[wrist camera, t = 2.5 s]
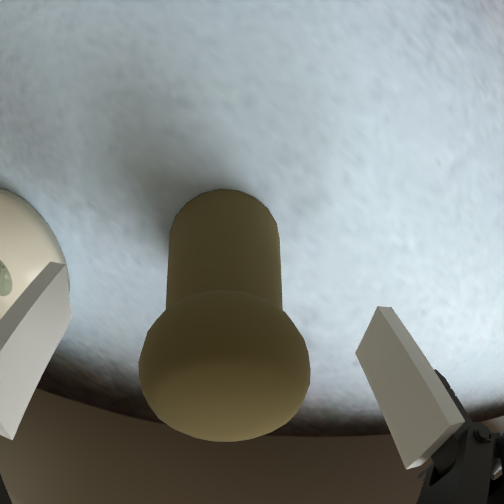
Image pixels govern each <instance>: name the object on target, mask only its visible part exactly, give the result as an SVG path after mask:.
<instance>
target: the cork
mask: <svg viewBox="0 0 504 504" xmlns="http://www.w3.org/2000/svg"><path fill="white" fill-rule="evenodd" d="M138 363H139V377H140V382H141V387H142V392H143V395H144V396H145V398H146V400H147V402H148V404H149V406H150V407H151V409H152V410H153V411H154V413H155V414H156V415H157V417H158V418H159V419H160V420H162V421H163V422H165V423H166V424H167V425H169V426H170V427H172V428H173V429H175V430H178V431H180V432H183V433H185V434H188V435H190V436H193V437H195V438H201V439H205V440H210V441H225V442H232V441H241V440H248V439H252V438H255V437H258V436H261V435H264V434H267V433H270V432H272V431H274V430H275V429H277V428H279V427H281V426H282V425H284V424H286V423H287V422H288V421H289V420H290V419H291V418H292V417H293V416H294V415H295V414H296V413H297V412H298V410H299V408H300V406H301V404H302V402H303V400H304V398H305V395H306V393H307V390H308V387H309V385H310V362H309V355H308V350H307V347H306V344H305V341H304V338H303V337H302V335H301V334H300V332H299V331H298V329H297V328H296V326H295V325H294V323H293V322H292V321H291V319H290V318H289V317H288V315H287V314H286V313H285V312H284V311H283V310H282V284H281V260H280V239H279V233H278V228H277V223H276V221H275V220H274V218H273V216H272V215H271V213H270V211H269V209H268V208H267V207H265V206H264V205H263V204H262V203H261V202H260V201H258V200H257V199H256V198H255V197H252V196H250V195H247V194H245V193H242V192H240V191H235V190H221V189H219V190H215V191H211V192H207V193H203V194H201V195H199V196H197V197H196V198H194V199H192V200H191V201H189V202H188V203H186V205H185V206H184V207H183V208H182V209H181V211H180V212H179V213H178V214H177V215H176V217H175V220H174V223H173V226H172V228H171V231H170V244H169V258H168V275H167V295H166V310H165V311H164V312H163V313H162V314H161V316H160V317H159V318H158V319H157V320H156V321H155V323H154V324H153V325H152V327H151V328H150V329H149V331H148V332H147V336H146V339H145V342H144V345H143V349H142V352H141V356H140V359H139V362H138Z"/></svg>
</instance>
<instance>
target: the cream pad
mask: <svg viewBox="0 0 504 504" xmlns="http://www.w3.org/2000/svg"><path fill="white" fill-rule="evenodd" d="M50 261H51V262H56V263H61V264H66V261H65V257H64V255H63V252H62V250H61V247H60V245H59V243H58V241H57V239H56V237H55V235H54V234H53V232H52V230H51V229H50V227H49V226H48V224H47V223H46V222H45V220H44V219H43V218H42V216H41V215H40V214H39V213H38V212H37V211H36V210H35V209H34V208H33V207H32V206H31V205H30V204H29V203H28V202H26V201H25V200H24V199H22V198H21V197H19V196H17V195H16V194H14V193H12V192H9V191H7V190H4V189H0V320H1V319H2V317H3V316H4V315H5V313H6V312H7V311H8V310H9V308H10V307H11V306H12V305H13V304H14V302H15V301H16V300H17V299H18V297H19V296H20V295H21V294H22V293H23V291H24V290H25V289H26V288H27V287H28V286H29V284H30V283H31V282H32V281H33V280H34V279H35V278H36V277H37V275H38V274H39V273H40V272H41V271H42V270H43V269H44V268H45V267H46V265H47V264H48V263H49V262H50ZM66 273H67V282H68V291H70V283H69V274H68V268H67V264H66Z"/></svg>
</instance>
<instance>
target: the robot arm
mask: <svg viewBox="0 0 504 504" xmlns="http://www.w3.org/2000/svg"><path fill="white" fill-rule="evenodd" d="M71 320H72V313H71V306H70V299H69V291H68V282H67V273H66V264H61V263H56V262H51V261H50V262H49V263H48V264H47V265H46V267H45V268H44V269H43V270H42V271H41V272H40V273H39V274H38V275H37V277H36V278H35V279H34V280H33V281H32V282H31V283H30V284H29V286H28V287H27V288H26V289H25V290H24V291H23V293H22V294H21V295H20V296H19V297H18V299H17V300H16V301H15V302H14V304H13V305H12V306H11V307H10V308H9V310H8V311H7V312H6V313H5V315H4V316H3V317H2V319H1V320H0V435H2V436H4V437H7V438H9V439H11V440H13V438H14V435H15V433H16V431H17V428H18V426H19V423H20V421H21V419H22V416H23V414H24V412H25V410H26V407H27V405H28V403H29V401H30V399H31V397H32V394H33V392H34V390H35V388H36V386H37V384H38V382H39V380H40V378H41V376H42V374H43V372H44V370H45V368H46V366H47V364H48V362H49V360H50V358H51V357H52V355H53V353H54V351H55V349H56V347H57V345H58V344H59V342H60V340H61V338H62V336H63V334H64V333H65V331H66V329H67V327H68V326H69V324H70V322H71ZM355 353H356V355H357V358H358V360H359V362H360V364H361V366H362V368H363V371H364V373H365V375H366V377H367V379H368V382H369V384H370V386H371V388H372V390H373V393H374V395H375V397H376V399H377V402H378V404H379V406H380V409H381V411H382V413H383V415H384V418H385V420H386V422H387V425H388V427H389V429H390V432H391V434H392V436H393V439H394V441H395V444H396V446H397V449H398V451H399V453H400V456H401V458H402V461H403V463H404V466H405V468H406V469H409V468H413V467H416V466H420V465H422V464H423V463H424V462H425V461H426V460H427V459H429V457H431V458H432V460H433V462H432V463H431V464H430V465H429V466H428V467H427V468H426V469H425V470H423V471H422V472H421V473H420V474H419V476H418V477H417V478H421V477H422V476H423V475H424V474H425V473H427V474H426V477H425V478H424V479H423V481H424V483H423V487H422V489H421V493H420V495H419V498H418V501H417V504H504V431H503V432H502V433H491V431H490V430H489V428H488V427H487V426H485V425H484V424H482V423H479V422H475V423H473V422H472V421H471V419H470V418H469V416H468V414H467V413H466V411H465V409H464V408H463V406H462V404H461V403H460V401H459V399H458V398H457V396H455V393H454V391H453V390H452V389H450V385H449V384H448V382H447V380H446V379H445V377H443V376H442V375H441V374H440V373H439V372H438V371H437V370H436V369H435V370H434V369H433V368H432V366H431V365H430V363H429V362H428V360H427V359H426V357H425V356H424V354H423V353H422V351H421V350H420V348H419V347H418V345H417V344H416V342H415V341H414V339H413V338H412V336H411V335H410V333H409V332H408V330H407V329H406V328H405V326H404V325H403V323H402V322H401V320H400V319H399V317H398V316H397V315H396V313H395V312H394V310H393V309H392V308H391V307H381V306H377V309H376V311H375V313H374V315H373V317H372V320H371V322H370V324H369V326H368V328H367V330H366V332H365V334H364V336H363V338H362V340H361V343H360V345H359V347H358V349H357V350H356V352H355ZM501 468H502V475H501V476H500V477H499V478H497V479H495V478H494V474H495V473H497V472H498V471H499V470H500V469H501ZM0 504H12V502H11V499H10V497H9V495H8V492H7V490H6V488H5V485H4V482H3V480H2V477H1V474H0Z"/></svg>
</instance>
